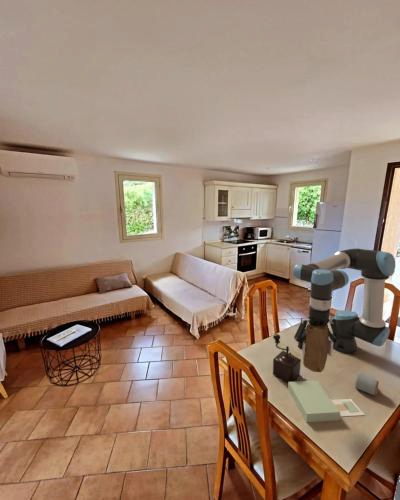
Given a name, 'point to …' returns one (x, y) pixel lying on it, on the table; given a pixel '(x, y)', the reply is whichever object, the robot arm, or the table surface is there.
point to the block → (316, 347)
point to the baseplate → (313, 401)
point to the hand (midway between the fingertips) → (315, 354)
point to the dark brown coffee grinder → (285, 364)
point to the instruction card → (347, 407)
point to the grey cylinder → (366, 383)
